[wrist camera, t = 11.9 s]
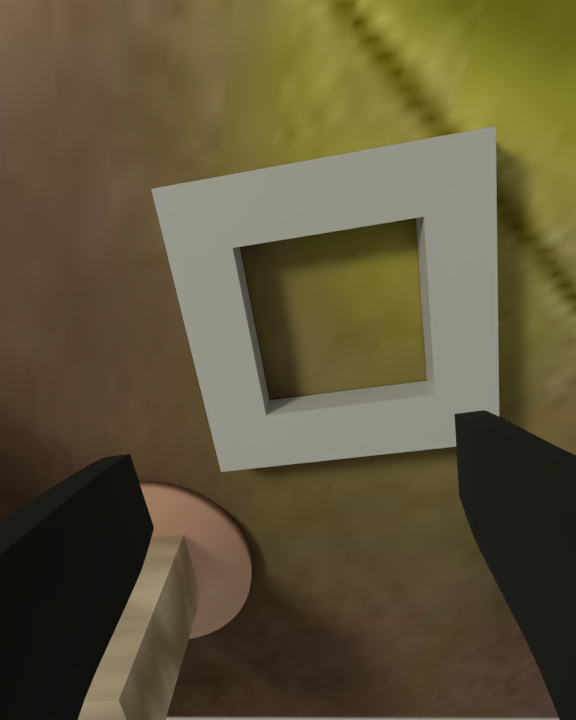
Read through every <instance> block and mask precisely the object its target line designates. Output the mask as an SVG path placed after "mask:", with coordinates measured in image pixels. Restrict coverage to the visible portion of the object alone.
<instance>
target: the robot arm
mask: <svg viewBox="0 0 576 720" xmlns="http://www.w3.org/2000/svg"><path fill="white" fill-rule="evenodd" d="M454 415H455V432H456V448H457V465H458V482H459V496H460V499H461V502H462V505H463V508H464V511H465V514H466V516H467V519H468V522H469V525H470V527H471V530H472V533H473V536H474V538H475V540H476V542H477V544H478V546H479V549H480V551H481V553H482V555H483V557H484V558H485V560H486V562H487V564H488V566H489V568H490V570H491V572H492V574H493V576H494V578H495V580H496V582H497V584H498V586H499V588H500V590H501V592H502V594H503V596H504V598H505V600H506V602H507V604H508V606H509V608H510V610H511V612H512V614H513V616H514V618H515V619H516V621H517V623H518V625H519V627H520V629H521V631H522V633H523V635H524V637H525V639H526V641H527V643H528V645H529V647H530V650H531V652H532V654H533V656H534V658H535V660H536V663H537V665H538V667H539V669H540V671H541V674H542V676H543V679H544V681H545V684H546V686H547V689H548V691H549V694H550V696H551V699H552V701H553V704H554V706H555V709H556V711H557V714H558V716H559V719H560V720H576V455H573V454H571V453H569V452H567V451H565V450H563V449H561V448H559V447H557V446H555V445H553V444H551V443H549V442H547V441H545V440H543V439H541V438H539V437H537V436H535V435H533V434H531V433H529V432H528V431H526V430H524V429H522V428H520V427H518V426H516V425H514V424H512V423H510V422H508V421H506V420H505V419H503V418H501V417H499V416H497V415H495V414H492V413H490V412H488V411H485V410H482V411H474V412H466V413H458V414H454ZM153 530H154V526H153V523H152V520H151V517H150V514H149V511H148V508H147V505H146V501H145V498H144V495H143V492H142V489H141V486H140V483H139V480H138V477H137V474H136V471H135V468H134V465H133V462H132V459H131V456H130V454H127V455H119V456H111V457H105V458H102V459H100V460H98V461H96V462H94V463H92V464H90V465H89V466H87V467H85V468H83V469H82V470H80V471H78V472H77V473H75V474H73V475H72V476H70V477H68V478H67V479H65V480H64V481H62V482H61V483H59V484H57V485H56V486H54V487H53V488H51V489H49V490H48V491H46V492H45V493H43V494H42V495H40V496H38V497H37V498H35V499H34V500H32V501H31V502H29V503H27V504H26V505H24V506H23V507H21V508H20V509H18V510H16V511H15V512H13V513H11V514H10V515H8V516H6V517H5V518H3V519H1V520H0V720H78V717H79V715H80V712H81V709H82V706H83V703H84V700H85V697H86V695H87V692H88V690H89V688H90V685H91V683H92V680H93V678H94V675H95V673H96V670H97V668H98V666H99V664H100V662H101V659H102V657H103V655H104V653H105V651H106V648H107V646H108V644H109V642H110V640H111V637H112V635H113V633H114V631H115V629H116V626H117V624H118V622H119V620H120V618H121V615H122V613H123V611H124V609H125V607H126V604H127V602H128V600H129V598H130V595H131V593H132V591H133V589H134V586H135V584H136V582H137V580H138V577H139V575H140V573H141V570H142V567H143V564H144V561H145V558H146V555H147V551H148V548H149V544H150V541H151V537H152V533H153Z"/></svg>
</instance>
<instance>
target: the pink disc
mask: <svg viewBox="0 0 576 720" xmlns="http://www.w3.org/2000/svg"><path fill="white" fill-rule="evenodd" d="M139 483H140V486H141V489H142V492H143V495H144V498H145V501H146V505H147V508H148V511H149V514H150V517H151V520H152V523H153V526H154V530H153V533H152V537H151V538H155V537H166V536H177V535H184V538H185V542H186V545H187V549H188V552H189V556H190V559H191V562H192V566H193V569H194V573H195V576H196V579H197V583H198V586H199V590H200V593H201V598H200V602H199V605H198V609H197V612H196V616H195V619H194V623H193V626H192V630H191V633H190V637H189V639H192V638H197V637H201V636H204V635H206V634H209V633H212V632H214V631H216V630H218V629H220V628H221V627H223V626H224V625H226V624H227V623H228V622H229V621H231V620H232V619H233V618H234V617H235V616H236V615H237V613H238V612H239V611H240V610H241V608H242V607H243V605H244V603H245V601H246V599H247V596H248V594H249V590H250V584H251V579H252V566H253V563H252V557H251V552H250V549H249V546H248V543H247V541H246V539H245V537H244V535H243V533H242V532H241V530H240V529H239V527H238V526H237V524H236V523H235V522H234V521H233V520H232V519H231V517H230V516H229V515H228V514H227V513H225V512H224V511H223V510H222V509H221V508H220V507H218V506H217V505H216V504H214V503H213V502H211V501H210V500H208V499H206V498H205V497H203V496H201V495H199V494H197V493H195V492H192V491H190V490H187V489H185V488H182V487H178V486H175V485H170V484H165V483H159V482H139Z"/></svg>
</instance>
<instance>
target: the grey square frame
mask: <svg viewBox="0 0 576 720" xmlns="http://www.w3.org/2000/svg"><path fill="white" fill-rule="evenodd" d="M151 190H152V194H153V198H154V202H155V206H156V210H157V214H158V218H159V222H160V226H161V230H162V234H163V239H164V243H165V247H166V251H167V255H168V259H169V263H170V267H171V271H172V275H173V279H174V283H175V287H176V291H177V295H178V299H179V303H180V307H181V311H182V316H183V320H184V324H185V328H186V332H187V336H188V340H189V344H190V348H191V352H192V356H193V360H194V364H195V368H196V372H197V376H198V380H199V384H200V388H201V393H202V397H203V401H204V405H205V409H206V413H207V417H208V421H209V425H210V429H211V433H212V437H213V441H214V445H215V449H216V453H217V457H218V461H219V466H220V470H221V472H225V471H234V470H243V469H253V468H262V467H271V466H280V465H290V464H299V463H308V462H317V461H327V460H336V459H345V458H355V457H364V456H373V455H382V454H392V453H401V452H410V451H419V450H429V449H438V448H447V447H456V432H455V415H454V414H458V413H466V412H474V411H482V410H485V411H488V412H490V413H492V414H495V415H497V416H499V348H498V266H497V184H496V126H495V127H489V128H484V129H478V130H473V131H467V132H462V133H456V134H451V135H445V136H440V137H434V138H429V139H423V140H418V141H412V142H407V143H401V144H396V145H390V146H385V147H379V148H374V149H368V150H363V151H357V152H352V153H346V154H341V155H335V156H330V157H324V158H319V159H313V160H308V161H302V162H297V163H291V164H286V165H280V166H275V167H269V168H264V169H258V170H253V171H248V172H242V173H237V174H231V175H226V176H220V177H215V178H209V179H204V180H198V181H193V182H187V183H182V184H176V185H171V186H165V187H160V188H154V189H151ZM413 218H416V229H417V244H418V258H419V273H420V288H421V302H422V317H423V331H424V346H425V361H426V375H427V381H421V382H413V383H405V384H397V385H389V386H381V387H373V388H365V389H357V390H349V391H340V392H332V393H324V394H316V395H308V396H300V397H292V398H284V399H276V400H269V395H268V390H267V385H266V380H265V375H264V370H263V364H262V359H261V354H260V349H259V344H258V339H257V334H256V328H255V323H254V318H253V313H252V308H251V303H250V298H249V292H248V287H247V282H246V277H245V272H244V267H243V262H242V256H241V251H240V247H242V246H248V245H254V244H260V243H266V242H273V241H279V240H285V239H291V238H297V237H303V236H309V235H315V234H321V233H328V232H334V231H340V230H346V229H352V228H358V227H364V226H370V225H376V224H382V223H389V222H395V221H401V220H407V219H413Z"/></svg>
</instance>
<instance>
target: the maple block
mask: <svg viewBox="0 0 576 720" xmlns="http://www.w3.org/2000/svg"><path fill="white" fill-rule="evenodd" d="M200 598H201V593H200V590H199V586H198V583H197V579H196V576H195V573H194V569H193V566H192V562H191V559H190V556H189V552H188V549H187V545H186V542H185V538H184V535H177V536H166V537H155V538H151V541H150V544H149V548H148V551H147V555H146V558H145V561H144V564H143V567H142V570H141V573H140V575H139V577H138V580H137V582H136V584H135V586H134V589H133V591H132V593H131V595H130V598H129V600H128V602H127V604H126V607H125V609H124V611H123V613H122V615H121V618H120V620H119V622H118V624H117V626H116V629H115V631H114V633H113V635H112V637H111V640H110V642H109V644H108V646H107V648H106V651H105V653H104V655H103V657H102V659H101V662H100V664H99V666H98V668H97V670H96V673H95V675H94V678H93V680H92V683H91V685H90V688H89V690H88V692H87V695H86V697H85V700H84V703H83V706H82V709H81V712H80V715H79V717H78V720H166V716H167V713H168V709H169V706H170V702H171V699H172V695H173V692H174V688H175V685H176V682H177V678H178V675H179V671H180V668H181V664H182V661H183V657H184V654H185V650H186V647H187V643H188V640H189V637H190V633H191V630H192V626H193V623H194V619H195V616H196V612H197V609H198V605H199V602H200Z"/></svg>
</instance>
